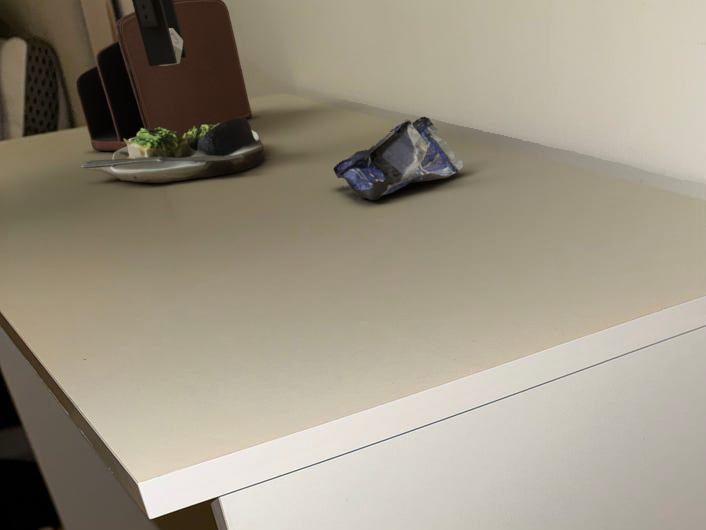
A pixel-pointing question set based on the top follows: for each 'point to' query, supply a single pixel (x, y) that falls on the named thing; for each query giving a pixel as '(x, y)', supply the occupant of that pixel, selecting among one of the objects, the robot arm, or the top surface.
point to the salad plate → (184, 153)
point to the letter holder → (164, 80)
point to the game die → (176, 45)
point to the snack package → (399, 161)
